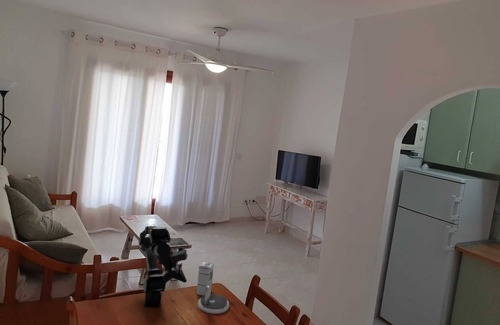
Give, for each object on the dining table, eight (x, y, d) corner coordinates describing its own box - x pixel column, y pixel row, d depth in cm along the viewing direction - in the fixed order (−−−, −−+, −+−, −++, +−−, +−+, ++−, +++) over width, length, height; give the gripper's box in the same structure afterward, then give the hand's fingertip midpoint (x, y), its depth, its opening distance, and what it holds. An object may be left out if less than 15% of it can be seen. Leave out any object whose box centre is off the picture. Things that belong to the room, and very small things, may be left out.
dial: (195, 301, 170) (196, 282, 169) (212, 293, 179) (214, 275, 178) (215, 312, 163) (217, 292, 162) (232, 303, 172) (234, 284, 171)
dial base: (196, 312, 164) (197, 308, 163) (199, 297, 177) (199, 294, 177) (229, 314, 165) (229, 311, 165) (228, 299, 179) (228, 296, 178)
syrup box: (207, 296, 179) (210, 267, 178) (196, 294, 180) (198, 265, 179) (211, 291, 185) (214, 263, 183) (200, 289, 186) (202, 261, 184)
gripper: (173, 251, 153) (198, 280, 154) (180, 236, 171) (202, 262, 173) (152, 268, 153) (177, 296, 155) (161, 251, 172) (183, 276, 174)
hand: (185, 281), depth 164 cm, fingers closed
